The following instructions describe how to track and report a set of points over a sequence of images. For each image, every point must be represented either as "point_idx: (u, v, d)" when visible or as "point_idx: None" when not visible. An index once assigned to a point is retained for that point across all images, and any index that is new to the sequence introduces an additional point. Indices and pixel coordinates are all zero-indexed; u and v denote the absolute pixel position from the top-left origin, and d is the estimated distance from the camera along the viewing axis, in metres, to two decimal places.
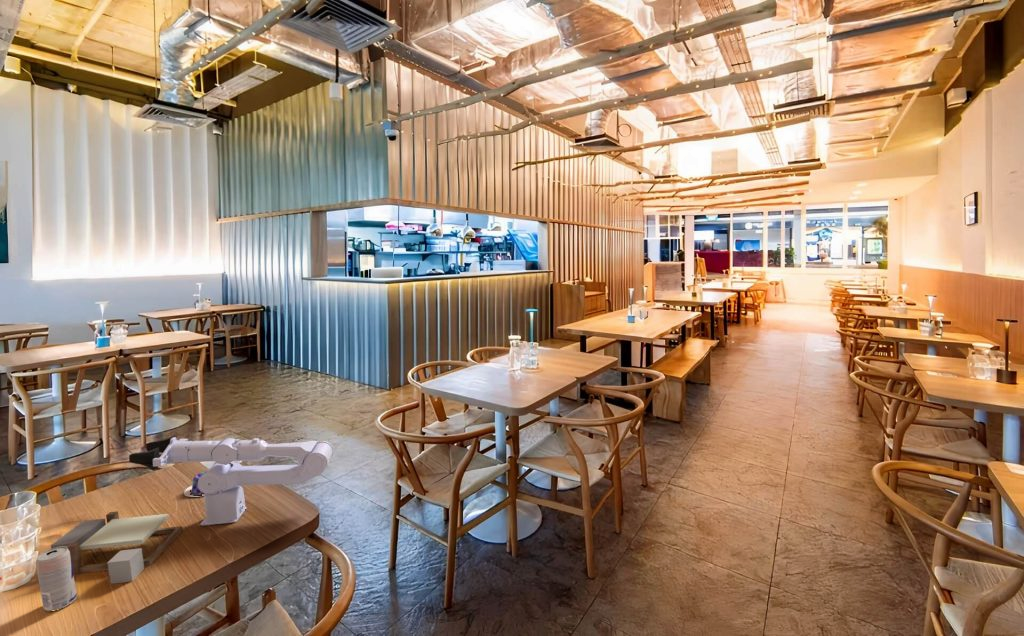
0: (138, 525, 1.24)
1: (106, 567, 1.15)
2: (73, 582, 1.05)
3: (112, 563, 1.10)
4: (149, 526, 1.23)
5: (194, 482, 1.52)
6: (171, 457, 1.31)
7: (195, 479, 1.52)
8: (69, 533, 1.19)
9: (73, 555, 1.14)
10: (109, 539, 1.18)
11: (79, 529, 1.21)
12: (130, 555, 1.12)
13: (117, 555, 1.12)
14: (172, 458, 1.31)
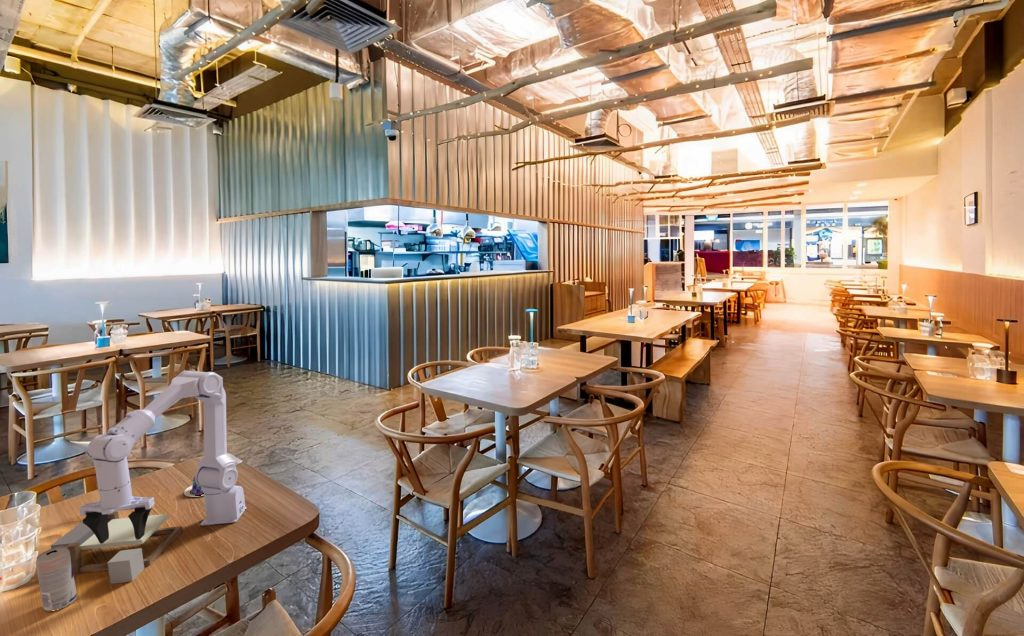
0: None
1: (106, 567, 1.15)
2: (73, 582, 1.05)
3: (112, 563, 1.10)
4: (149, 526, 1.23)
5: (194, 482, 1.52)
6: (131, 498, 1.11)
7: None
8: (69, 533, 1.19)
9: (73, 555, 1.14)
10: (109, 539, 1.18)
11: (79, 529, 1.21)
12: (130, 555, 1.12)
13: (117, 555, 1.12)
14: (131, 497, 1.12)
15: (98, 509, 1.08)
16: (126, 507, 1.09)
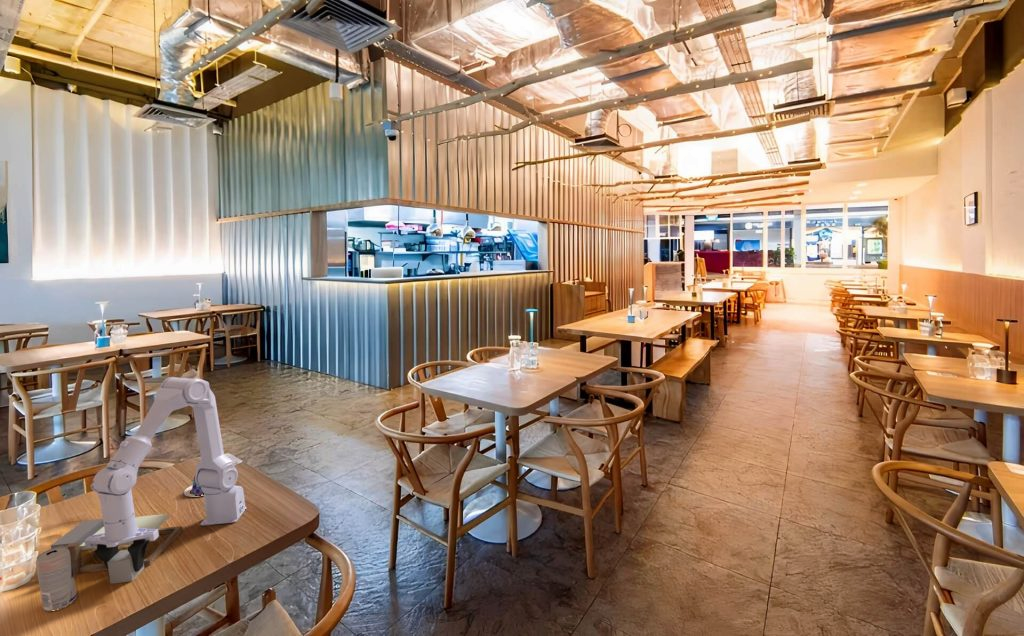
0: (138, 525, 1.24)
1: (106, 567, 1.15)
2: (73, 582, 1.05)
3: (112, 562, 1.10)
4: (149, 526, 1.23)
5: (194, 482, 1.52)
6: (135, 530, 1.12)
7: None
8: (69, 533, 1.19)
9: (73, 555, 1.14)
10: None
11: (79, 529, 1.21)
12: (130, 555, 1.12)
13: (117, 555, 1.12)
14: (136, 529, 1.13)
15: (103, 542, 1.09)
16: (131, 539, 1.10)
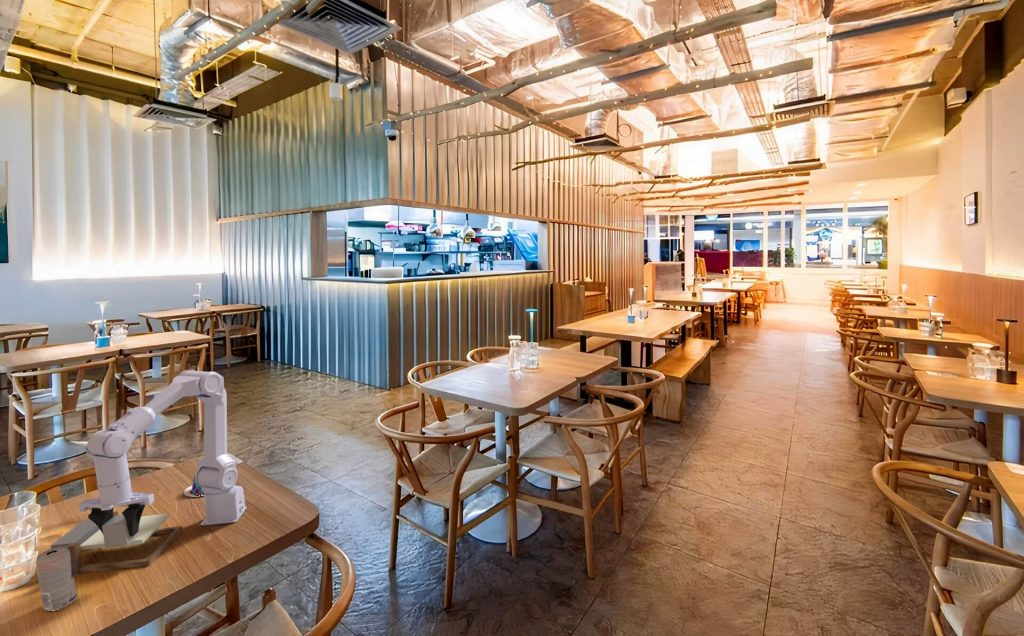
0: None
1: (106, 567, 1.15)
2: (73, 582, 1.05)
3: (106, 526, 1.09)
4: (149, 526, 1.23)
5: (194, 482, 1.52)
6: (130, 494, 1.11)
7: None
8: (69, 533, 1.19)
9: (73, 555, 1.14)
10: None
11: (79, 529, 1.21)
12: (125, 520, 1.11)
13: (112, 519, 1.11)
14: (131, 493, 1.11)
15: (97, 505, 1.08)
16: (125, 503, 1.09)
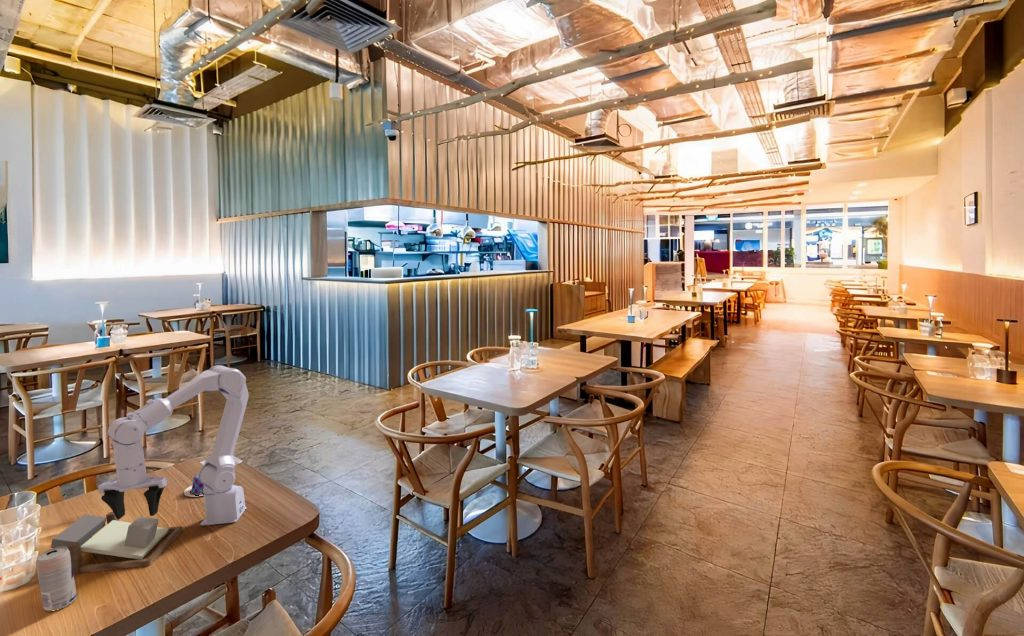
0: None
1: (106, 567, 1.15)
2: (73, 582, 1.05)
3: (132, 527, 1.19)
4: None
5: (193, 481, 1.53)
6: (146, 478, 1.21)
7: (194, 478, 1.53)
8: (71, 527, 1.19)
9: (73, 555, 1.14)
10: (109, 546, 1.18)
11: (80, 525, 1.21)
12: (148, 524, 1.21)
13: (137, 520, 1.22)
14: (146, 476, 1.21)
15: (116, 487, 1.17)
16: (141, 485, 1.18)
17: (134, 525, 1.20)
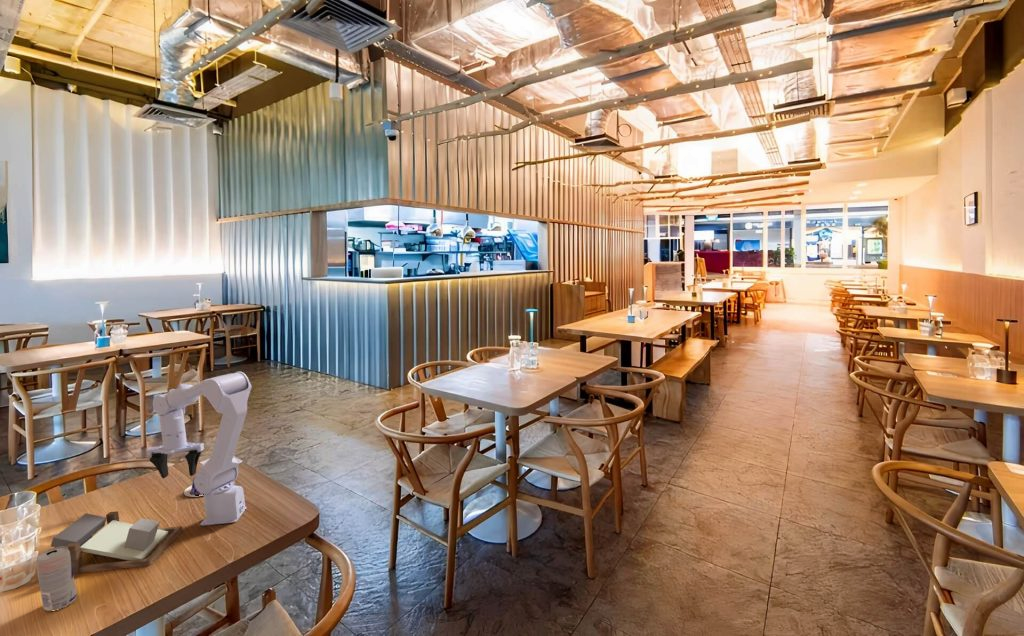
0: None
1: (106, 567, 1.15)
2: (73, 582, 1.05)
3: (133, 529, 1.19)
4: None
5: (193, 481, 1.53)
6: (186, 443, 1.42)
7: None
8: (71, 526, 1.19)
9: (73, 555, 1.14)
10: (109, 547, 1.18)
11: (81, 525, 1.21)
12: (149, 527, 1.22)
13: (138, 522, 1.22)
14: (186, 442, 1.42)
15: (162, 450, 1.38)
16: (183, 449, 1.39)
17: (135, 527, 1.20)
